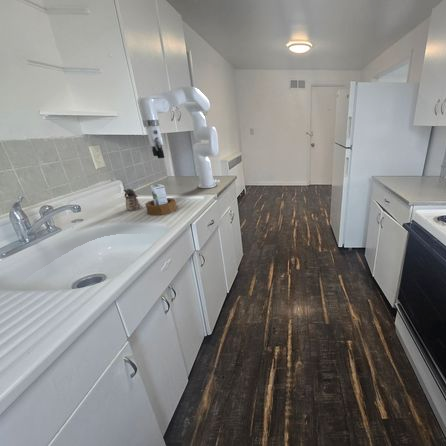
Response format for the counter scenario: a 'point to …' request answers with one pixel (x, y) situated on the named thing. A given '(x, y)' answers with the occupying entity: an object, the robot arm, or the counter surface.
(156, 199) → the syrup box
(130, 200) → the figurine
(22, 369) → the counter surface
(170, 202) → the brown bowl
